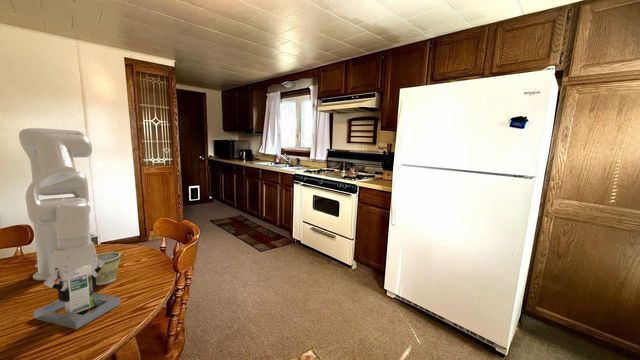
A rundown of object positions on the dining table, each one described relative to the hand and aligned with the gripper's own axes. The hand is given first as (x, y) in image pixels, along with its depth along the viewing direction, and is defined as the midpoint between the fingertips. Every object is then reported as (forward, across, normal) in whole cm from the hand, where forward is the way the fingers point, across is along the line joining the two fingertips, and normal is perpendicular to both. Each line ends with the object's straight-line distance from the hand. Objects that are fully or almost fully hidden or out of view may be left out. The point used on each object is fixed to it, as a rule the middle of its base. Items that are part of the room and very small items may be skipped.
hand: (78, 294), depth 83 cm
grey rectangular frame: (+6, 0, 0) cm, 6 cm away
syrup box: (+5, 0, 0) cm, 5 cm away
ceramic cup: (+6, -18, -12) cm, 23 cm away
